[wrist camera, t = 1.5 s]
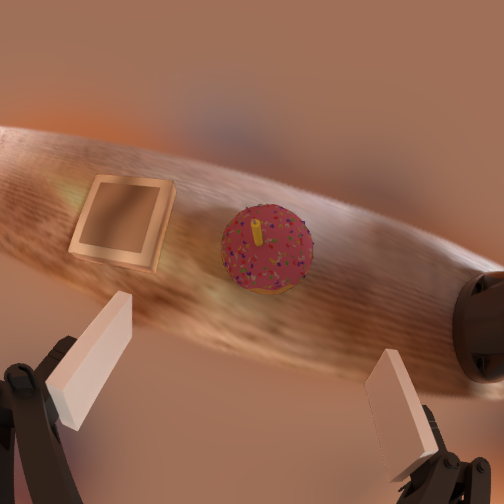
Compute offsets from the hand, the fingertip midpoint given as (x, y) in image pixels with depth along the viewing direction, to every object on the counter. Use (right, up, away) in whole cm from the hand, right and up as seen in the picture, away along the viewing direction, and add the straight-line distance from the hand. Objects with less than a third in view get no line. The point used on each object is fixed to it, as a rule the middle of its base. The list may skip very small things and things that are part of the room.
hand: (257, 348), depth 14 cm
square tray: (-15, +8, +18) cm, 25 cm away
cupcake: (+1, +3, +18) cm, 18 cm away
